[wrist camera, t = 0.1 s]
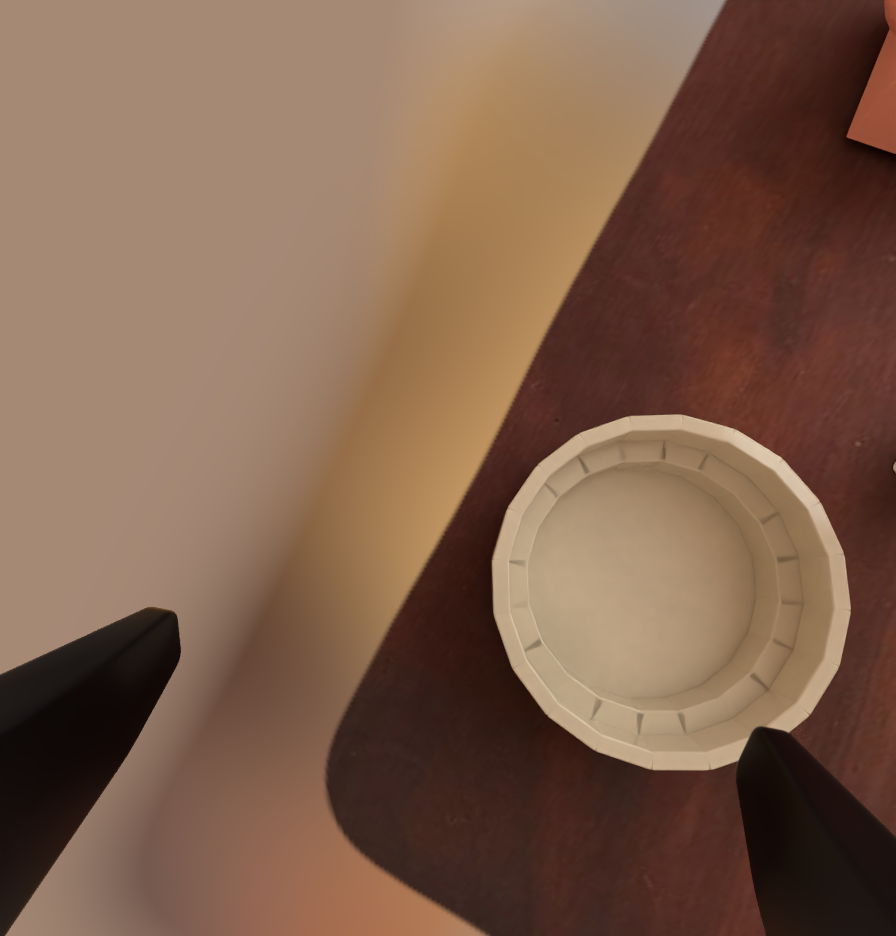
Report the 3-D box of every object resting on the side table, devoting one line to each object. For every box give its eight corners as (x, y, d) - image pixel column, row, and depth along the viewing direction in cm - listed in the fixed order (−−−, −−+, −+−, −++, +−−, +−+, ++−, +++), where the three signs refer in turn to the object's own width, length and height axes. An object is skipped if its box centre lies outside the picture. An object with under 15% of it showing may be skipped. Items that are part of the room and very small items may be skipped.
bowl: (831, 674, 24) (912, 702, 19) (549, 771, 24) (564, 821, 19) (713, 401, 26) (761, 369, 21) (452, 492, 26) (446, 478, 21)
